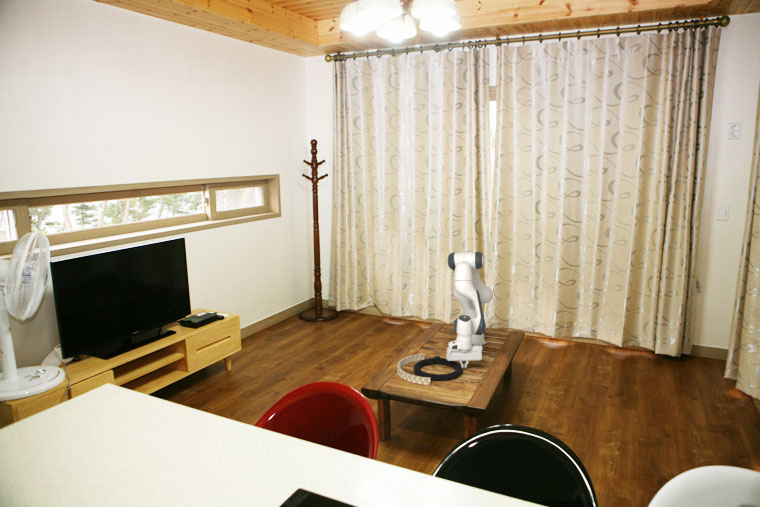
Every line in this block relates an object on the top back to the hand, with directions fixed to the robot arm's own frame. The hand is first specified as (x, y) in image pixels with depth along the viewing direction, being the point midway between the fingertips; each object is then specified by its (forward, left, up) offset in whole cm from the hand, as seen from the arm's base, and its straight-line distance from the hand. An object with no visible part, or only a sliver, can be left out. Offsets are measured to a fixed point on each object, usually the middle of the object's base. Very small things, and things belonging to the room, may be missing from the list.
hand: (463, 367), depth 296 cm
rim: (0, -29, -2) cm, 29 cm away
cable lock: (0, -15, -2) cm, 15 cm away
